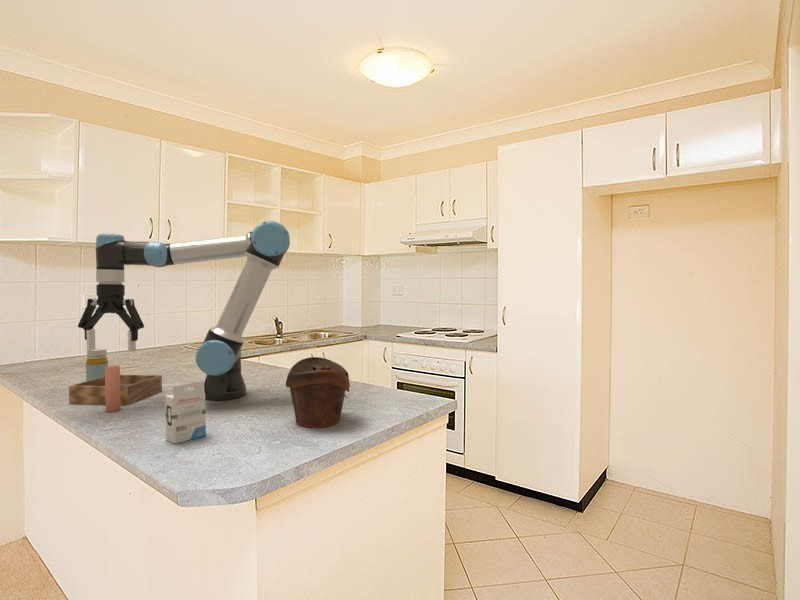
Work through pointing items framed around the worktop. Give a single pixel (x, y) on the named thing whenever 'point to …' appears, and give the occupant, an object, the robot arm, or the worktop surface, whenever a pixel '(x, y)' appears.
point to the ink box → (185, 413)
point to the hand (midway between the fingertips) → (111, 350)
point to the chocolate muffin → (317, 391)
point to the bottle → (96, 364)
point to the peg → (112, 388)
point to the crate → (129, 389)
